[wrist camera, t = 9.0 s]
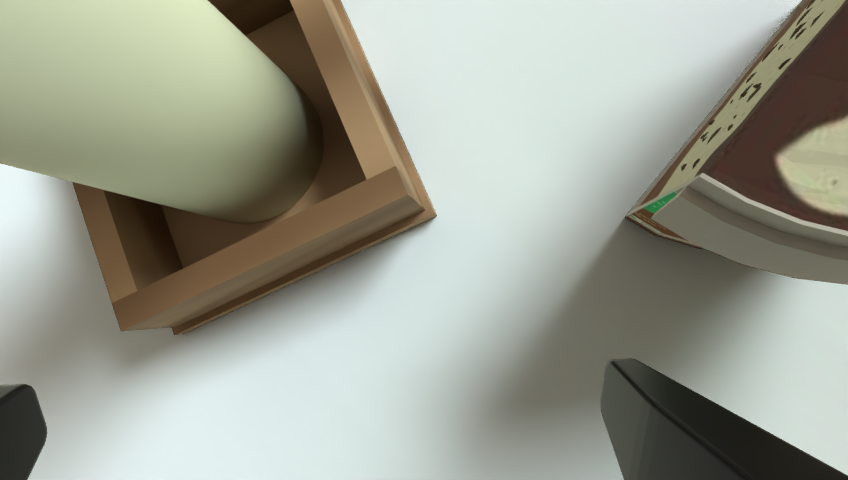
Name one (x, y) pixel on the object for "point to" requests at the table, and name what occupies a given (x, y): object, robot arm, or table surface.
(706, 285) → the table surface
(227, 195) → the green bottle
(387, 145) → the holder
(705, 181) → the food container
